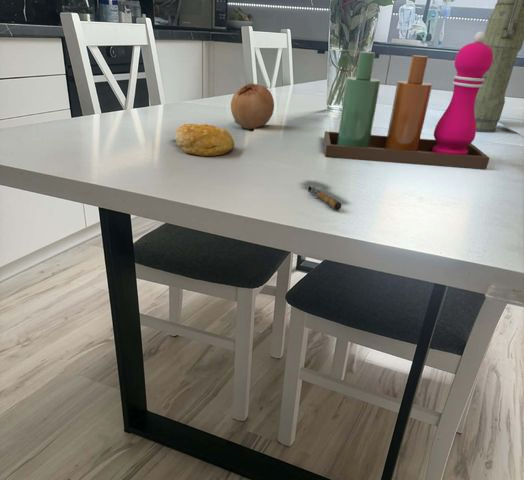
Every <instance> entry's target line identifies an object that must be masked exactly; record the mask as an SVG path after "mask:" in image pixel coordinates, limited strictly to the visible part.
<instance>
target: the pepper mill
mask: <svg viewBox="0 0 524 480" xmlns="http://www.w3.org/2000/svg"><path fill="white" fill-rule="evenodd" d="M485 37H486V35H485V32H484V31H478V32H477V33H476V34H475V35H474V36H473V42H470V43H467V44H466V45H464V46H462V47H461V48H460V50H458V52H457V54H456V56H455V59H454V68H455V70H456V75H454V76H453V81H452V85H454V86H453V91H452V95H451V99H450V102H449V104H448V106H447V108H446V109H445V111H444V113H443V114H442V115H441V117H440V118H439V120H438V122H437V123H436V124H435V128H434V131H433V138H434V140H436V142H437V145H436V146H434V147H433V150H432V152H433V153H446V154H459V155H467V153H468V151H467V150H466V149H465V148H466V147H467V146H468V145H469V144H470V143H473V142H474V141H475V138H476V133H477V131H476V120H475V112H474V107H475V100H476V96H477V93H478V91H479V88H480V87H482V86H483V84H482V83H483V81H484V78H483V75H484V74H485V73H486V72H487V71H488V70H489V69H490V67H491V65H492V62H493V52H492V50H491V48H490V47H489V46H488V45H486V44H483V42H484V40H485Z"/></svg>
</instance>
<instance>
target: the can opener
mask: <svg viewBox="0 0 524 480" xmlns="http://www.w3.org/2000/svg"><path fill="white" fill-rule="evenodd" d="M307 193H311V194H315V195H316V197H317V198H318V200H320V201H322V202H324V203H325V204H326V205H327V206H328V207H330V208H332V209H333V210H336V211H338V210H340V209H341V208H342V203H341V202H340V201H339V200H337V199H336V198H334V197H332V196H330V195H328V194H327V193H325V192H324V191H321V190H320V189H318V188H315V187H314V186H313V185H309V186H308V188H307Z"/></svg>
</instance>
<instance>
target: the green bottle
mask: <svg viewBox="0 0 524 480" xmlns="http://www.w3.org/2000/svg"><path fill="white" fill-rule="evenodd" d="M375 57H376V53H375V52H373V51H359V55H358V62H357V68H356V74H355V76H346V78H345V82H344V83H345V84H344V92H343V98H342V107H341V113H340V121H339V127H338V128H339V129H338V132H339V134H338V142H337V145H343V146H356V147H369V145H370V139H371V135H372V133H373V127H374V121H375V115H376V110H377V104H378V98H379V92H380V87H381V80H380V79H378V78H372V76H373V75H372V74H373V68H374V62H375Z"/></svg>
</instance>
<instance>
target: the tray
mask: <svg viewBox="0 0 524 480" xmlns="http://www.w3.org/2000/svg"><path fill="white" fill-rule="evenodd" d="M338 134H339V131H328V130H327V131H325V130H324V135H323V151H324V157H325V158H330V159H340V160H341V159H342V160H344V159H345V160H355V161H356V160H358V161H368V162H369V161H370V162H382V163H391V164H392V163H394V164H407V165H419V166H431V167H433V166H434V167H444V168H446V167H447V168H456V169H468V170H469V169H471V170H482V171H486V170H487V168H488V166H489V162H490V158H491V157H490V156H489V155H487V154H485V153H484V152H483V151H482V150H481V149H479V148H478V147H477V146H475V144H473V142H471V143H470V144H469V145H468V146H467V147H466V148H465V149H466V150H467V151H468V153H467V155H459V154H446V153H433V152H432V150H433V147H434V146H436V145H437V142H436V140H435V139H429V138H420V142H419V146H418V150H417V151H408V150H395V149H385V144H386V139H387V135H379V134H371V139H370V145H369V147H356V146H343V145H337V142H338Z"/></svg>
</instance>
